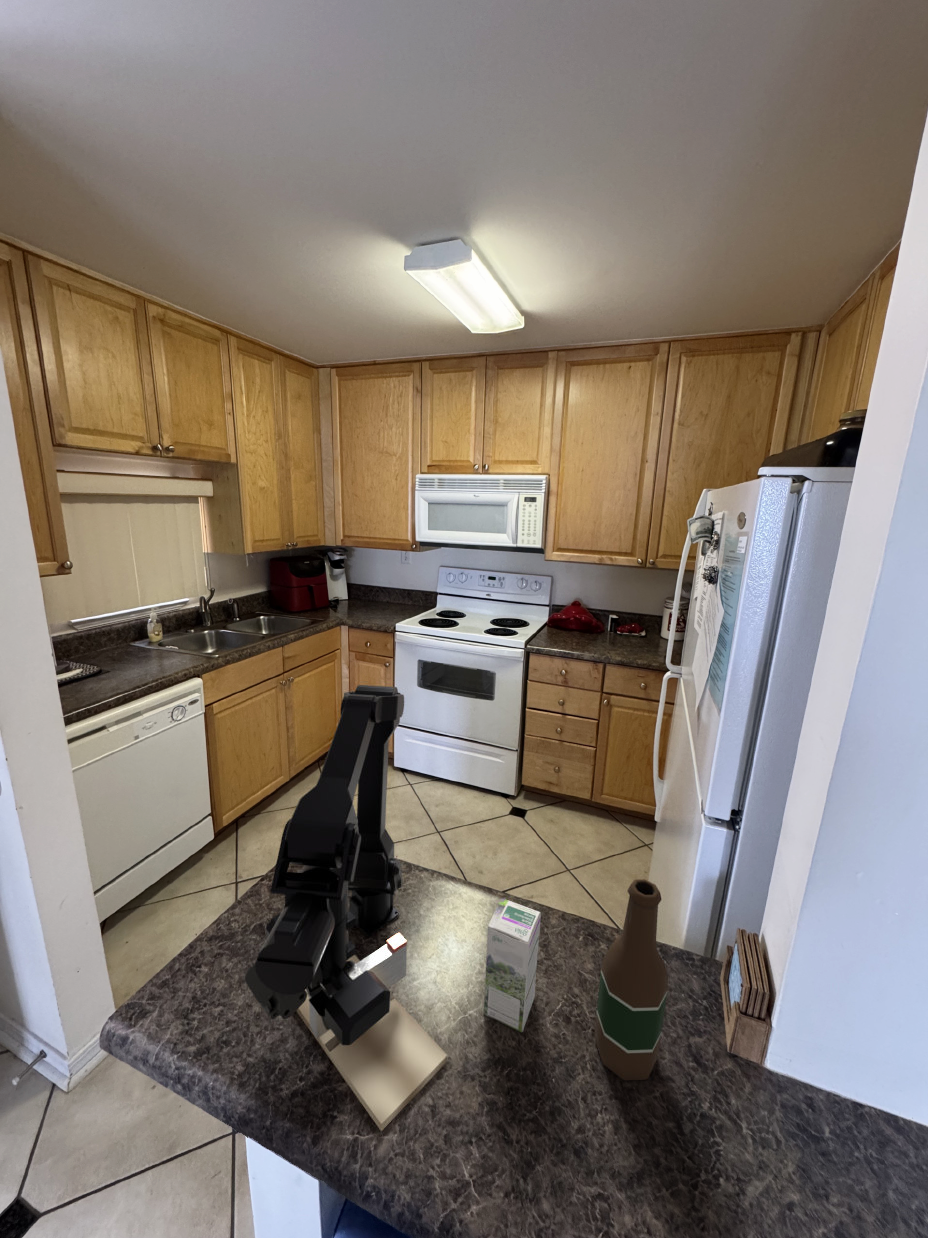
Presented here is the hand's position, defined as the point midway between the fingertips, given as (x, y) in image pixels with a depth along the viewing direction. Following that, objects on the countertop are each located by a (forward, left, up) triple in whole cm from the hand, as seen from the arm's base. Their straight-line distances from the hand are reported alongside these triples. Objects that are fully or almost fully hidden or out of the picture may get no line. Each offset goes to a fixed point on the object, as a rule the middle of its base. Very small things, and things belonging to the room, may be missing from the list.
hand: (325, 1020), depth 61 cm
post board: (-5, 0, -5) cm, 7 cm away
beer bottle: (-27, +26, -5) cm, 38 cm away
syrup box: (-21, +12, -5) cm, 25 cm away
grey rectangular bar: (-5, 0, -2) cm, 5 cm away
